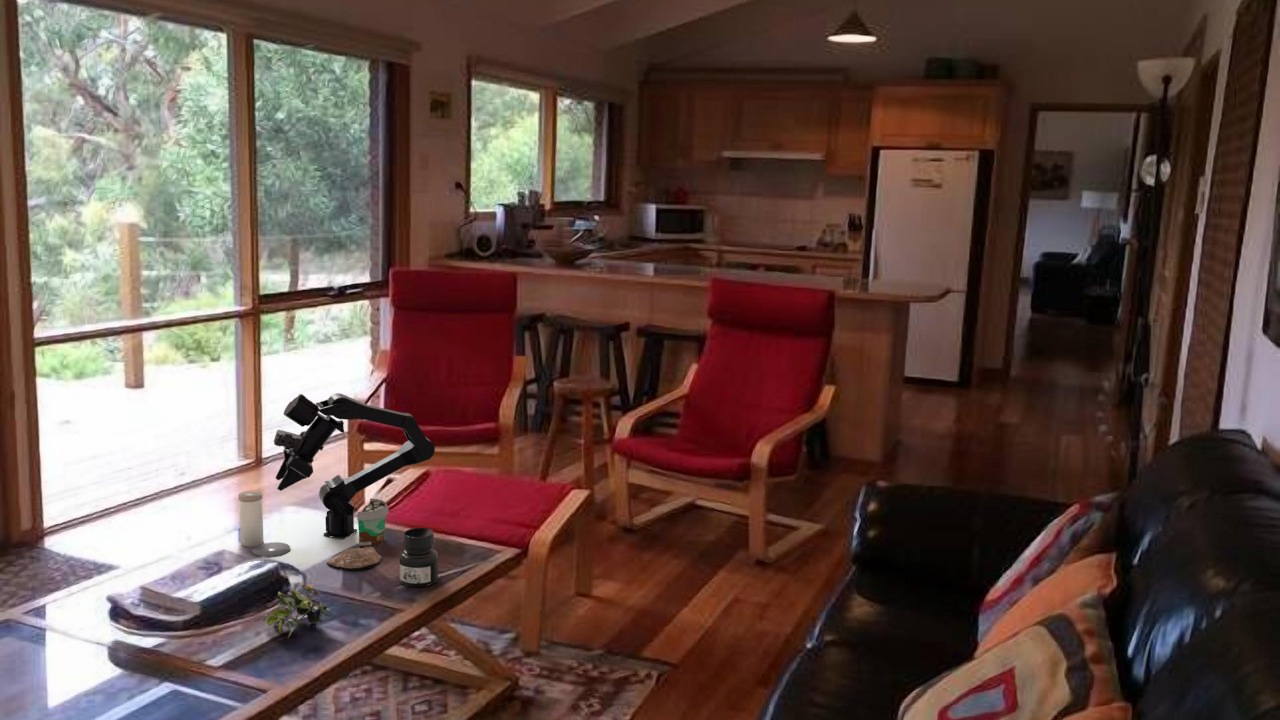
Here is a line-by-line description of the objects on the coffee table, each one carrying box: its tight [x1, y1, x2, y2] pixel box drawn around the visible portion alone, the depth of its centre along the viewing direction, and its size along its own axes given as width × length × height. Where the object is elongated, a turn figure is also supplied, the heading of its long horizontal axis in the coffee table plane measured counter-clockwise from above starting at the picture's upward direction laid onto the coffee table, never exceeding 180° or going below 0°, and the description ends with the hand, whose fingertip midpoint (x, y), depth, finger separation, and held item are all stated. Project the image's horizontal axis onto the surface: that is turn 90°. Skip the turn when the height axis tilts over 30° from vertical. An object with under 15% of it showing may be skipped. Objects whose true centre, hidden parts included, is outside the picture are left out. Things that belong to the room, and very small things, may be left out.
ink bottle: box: [399, 527, 439, 588], centre depth 244 cm, size 10×9×12 cm
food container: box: [356, 497, 390, 548], centre depth 268 cm, size 12×6×10 cm, turn 179°
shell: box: [326, 547, 382, 572], centre depth 255 cm, size 12×13×4 cm
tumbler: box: [238, 490, 264, 547], centre depth 265 cm, size 6×6×13 cm
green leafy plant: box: [261, 584, 334, 639], centre depth 216 cm, size 11×11×12 cm
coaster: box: [251, 541, 291, 558], centre depth 261 cm, size 9×9×1 cm
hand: (277, 484), depth 266 cm, fingers open, 9 cm apart
